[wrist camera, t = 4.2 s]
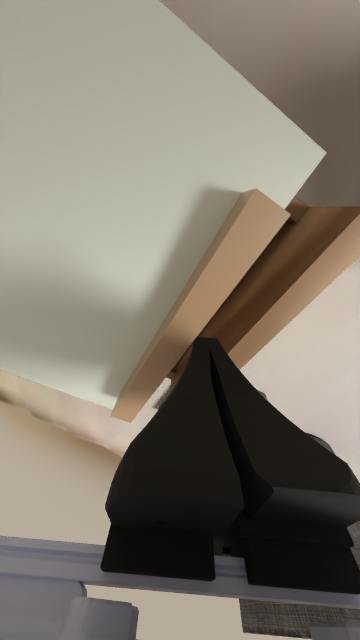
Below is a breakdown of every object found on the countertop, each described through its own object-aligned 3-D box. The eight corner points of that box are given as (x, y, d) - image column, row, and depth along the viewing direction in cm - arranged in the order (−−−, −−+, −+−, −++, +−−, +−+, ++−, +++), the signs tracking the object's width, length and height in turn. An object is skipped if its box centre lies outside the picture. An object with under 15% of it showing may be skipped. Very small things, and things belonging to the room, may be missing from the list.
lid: (316, 157, 7) (369, 135, 5) (133, 409, 16) (124, 439, 14) (-238, -336, 4) (-799, -1050, 2) (-78, 332, 12) (-131, 357, 10)
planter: (247, 485, 38) (278, 635, 25) (202, 448, 31) (211, 630, 18) (342, 468, 32) (450, 652, 19) (314, 416, 25) (454, 653, 12)
